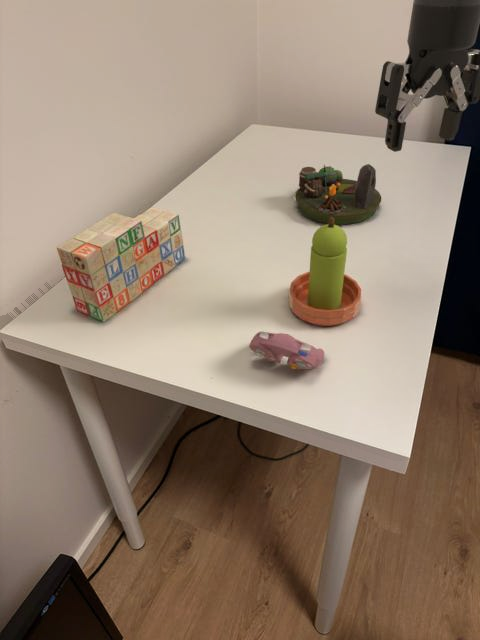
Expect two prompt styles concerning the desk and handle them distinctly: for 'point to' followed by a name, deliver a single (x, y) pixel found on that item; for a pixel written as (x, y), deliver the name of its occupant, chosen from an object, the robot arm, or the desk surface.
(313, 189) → the toy scene
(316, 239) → the pear toy
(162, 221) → the stack of blocks
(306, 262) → the desk surface
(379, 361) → the desk surface
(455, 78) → the robot arm
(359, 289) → the bowl
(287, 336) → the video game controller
